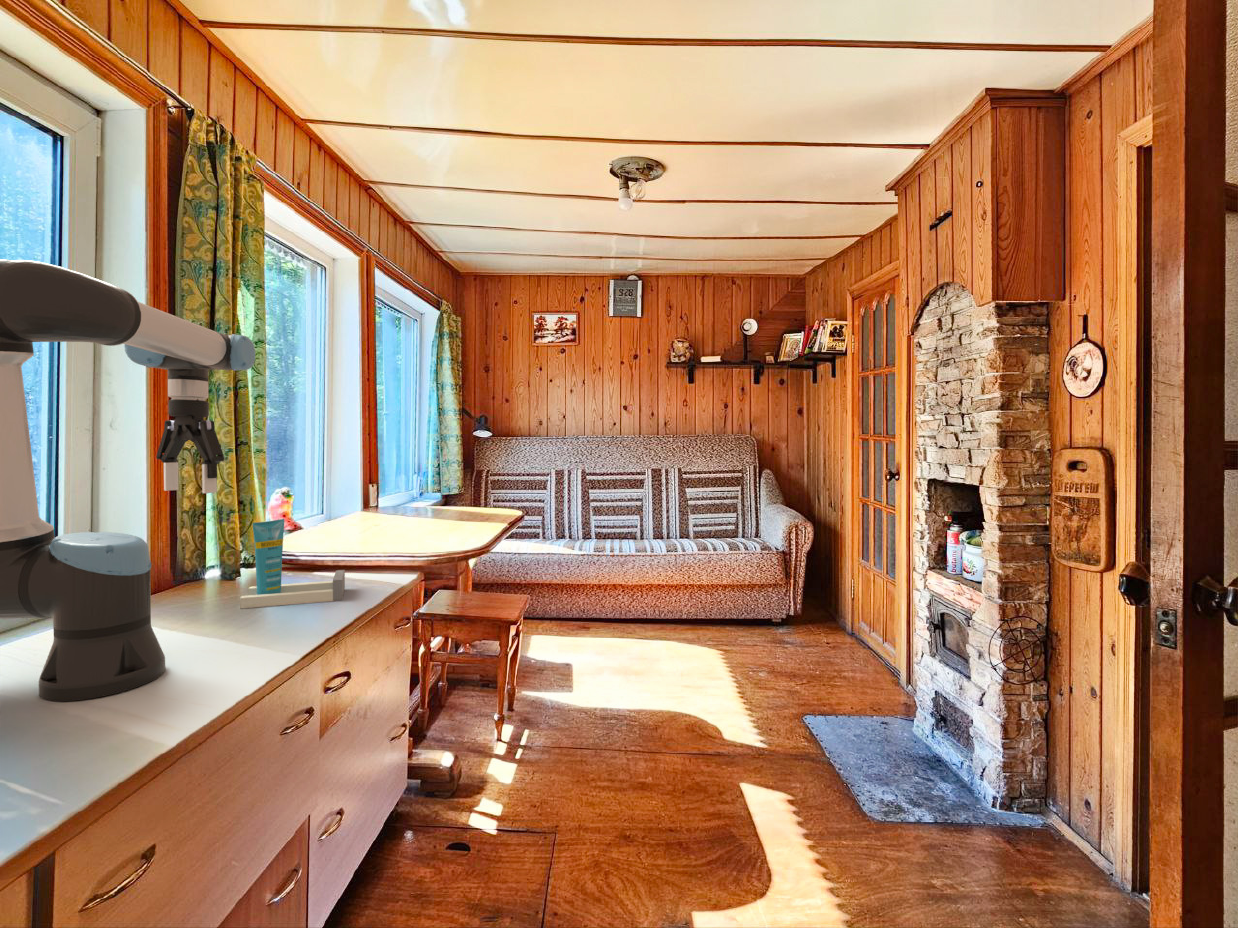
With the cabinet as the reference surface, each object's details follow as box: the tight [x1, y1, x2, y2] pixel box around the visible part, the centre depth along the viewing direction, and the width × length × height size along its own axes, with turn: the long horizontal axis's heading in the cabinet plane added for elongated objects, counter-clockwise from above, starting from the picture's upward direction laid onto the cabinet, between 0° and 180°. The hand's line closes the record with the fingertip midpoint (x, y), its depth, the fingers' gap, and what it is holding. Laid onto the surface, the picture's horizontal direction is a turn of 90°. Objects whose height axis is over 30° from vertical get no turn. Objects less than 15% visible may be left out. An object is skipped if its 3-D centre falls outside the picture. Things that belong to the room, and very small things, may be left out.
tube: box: [252, 518, 285, 595], centre depth 140 cm, size 7×5×19 cm, turn 157°
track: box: [239, 569, 346, 610], centre depth 142 cm, size 11×21×5 cm, turn 112°
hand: (190, 491), depth 136 cm, fingers open, 13 cm apart
